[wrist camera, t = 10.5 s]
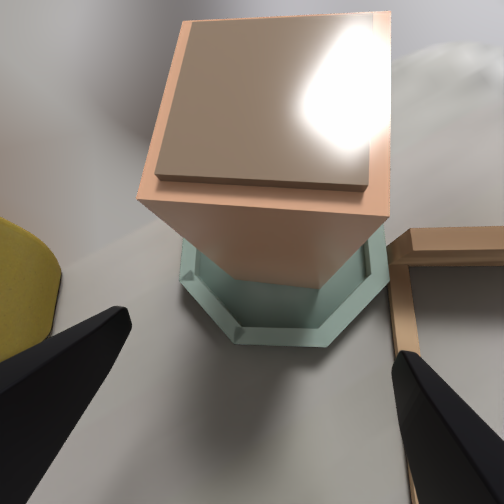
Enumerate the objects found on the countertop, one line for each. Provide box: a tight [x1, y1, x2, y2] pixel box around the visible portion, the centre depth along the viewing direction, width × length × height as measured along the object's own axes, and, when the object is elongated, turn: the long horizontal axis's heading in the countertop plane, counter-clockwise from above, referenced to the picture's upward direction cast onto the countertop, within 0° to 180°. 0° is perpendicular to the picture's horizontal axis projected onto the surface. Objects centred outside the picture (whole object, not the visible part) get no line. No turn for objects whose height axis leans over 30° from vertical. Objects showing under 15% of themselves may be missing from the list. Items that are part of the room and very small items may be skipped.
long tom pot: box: [136, 11, 391, 289], centre depth 12 cm, size 6×6×12 cm
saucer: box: [179, 224, 390, 347], centre depth 18 cm, size 13×13×2 cm
